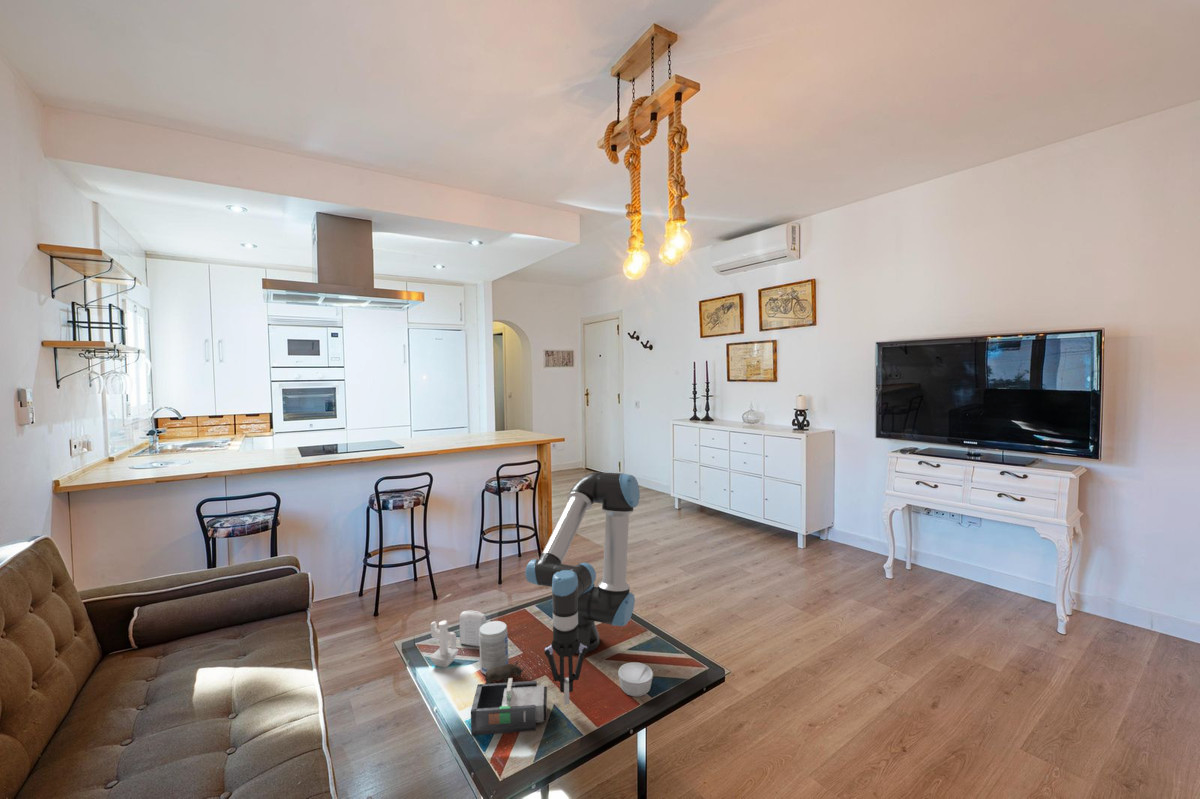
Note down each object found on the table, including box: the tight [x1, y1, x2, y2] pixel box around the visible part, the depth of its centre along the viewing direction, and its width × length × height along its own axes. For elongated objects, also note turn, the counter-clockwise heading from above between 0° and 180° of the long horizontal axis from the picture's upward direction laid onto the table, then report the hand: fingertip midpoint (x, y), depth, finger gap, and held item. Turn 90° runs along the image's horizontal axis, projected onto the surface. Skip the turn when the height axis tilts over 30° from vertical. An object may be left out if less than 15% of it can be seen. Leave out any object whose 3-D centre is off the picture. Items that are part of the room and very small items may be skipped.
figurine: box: [428, 619, 460, 669], centre depth 173 cm, size 7×9×15 cm
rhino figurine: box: [484, 661, 526, 684], centre depth 162 cm, size 4×14×6 cm, turn 116°
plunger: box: [502, 677, 548, 723], centre depth 146 cm, size 13×9×9 cm
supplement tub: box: [479, 620, 509, 675], centre depth 169 cm, size 10×10×15 cm
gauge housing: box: [470, 680, 538, 736], centre depth 145 cm, size 18×12×7 cm
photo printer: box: [459, 610, 487, 647], centre depth 185 cm, size 10×4×12 cm, turn 76°
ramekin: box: [617, 661, 654, 697], centre depth 159 cm, size 11×11×5 cm
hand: (566, 701), depth 147 cm, fingers closed
